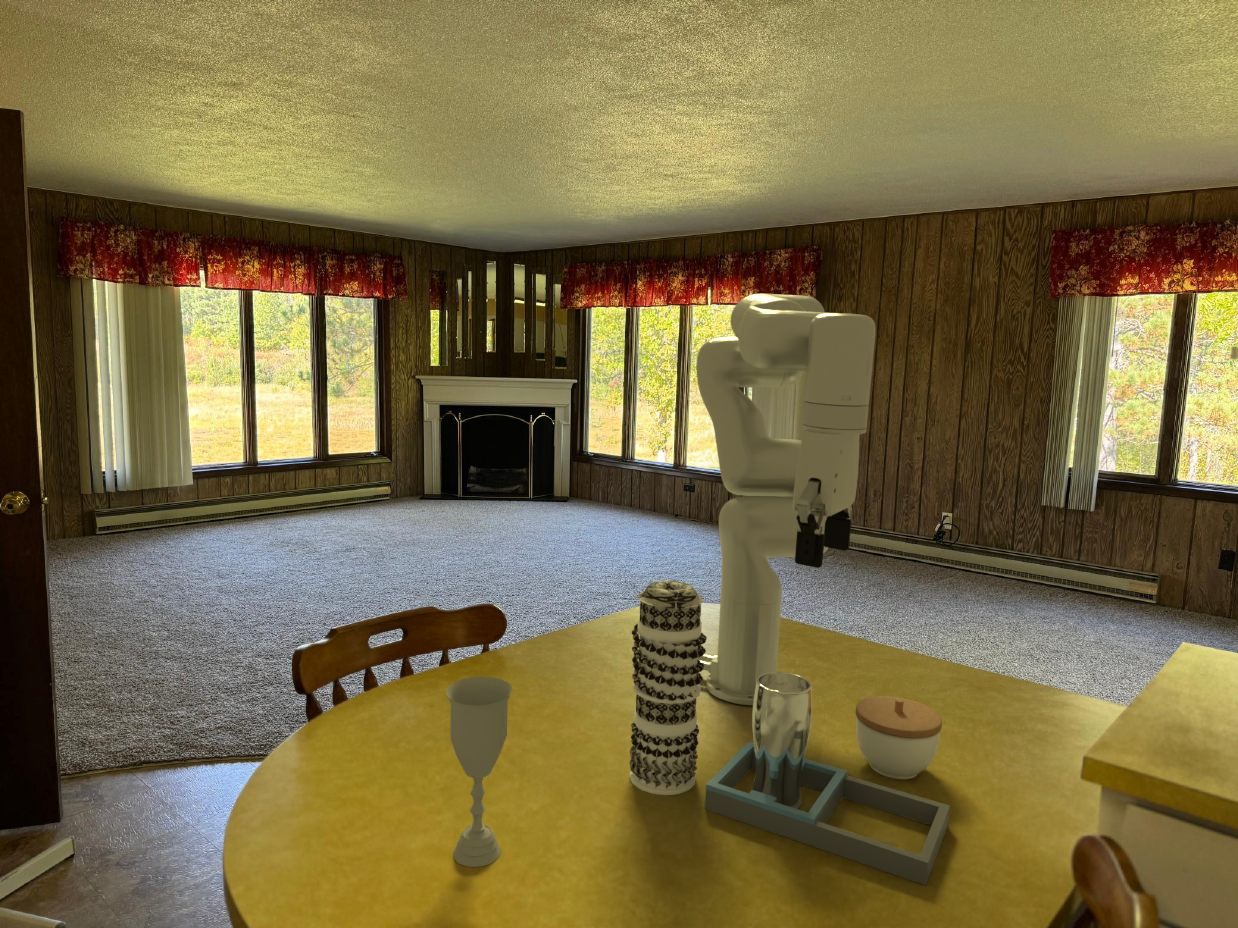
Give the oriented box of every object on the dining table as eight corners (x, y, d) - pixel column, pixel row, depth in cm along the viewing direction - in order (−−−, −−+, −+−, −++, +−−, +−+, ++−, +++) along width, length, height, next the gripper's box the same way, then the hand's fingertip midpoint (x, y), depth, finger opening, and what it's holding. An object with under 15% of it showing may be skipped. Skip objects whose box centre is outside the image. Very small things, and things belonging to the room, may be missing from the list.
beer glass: (806, 819, 96) (815, 696, 94) (746, 811, 97) (753, 689, 95) (804, 788, 102) (812, 673, 100) (748, 781, 104) (755, 667, 102)
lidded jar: (840, 771, 107) (845, 702, 106) (866, 740, 116) (871, 677, 115) (925, 798, 101) (931, 726, 100) (945, 764, 110) (952, 697, 109)
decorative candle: (667, 805, 97) (677, 602, 94) (611, 776, 103) (618, 584, 100) (713, 778, 104) (724, 587, 101) (658, 752, 110) (666, 571, 107)
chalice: (448, 832, 90) (450, 676, 88) (510, 831, 91) (514, 676, 89) (439, 874, 83) (441, 705, 81) (507, 872, 84) (510, 705, 81)
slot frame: (704, 808, 97) (706, 784, 97) (746, 763, 108) (748, 741, 108) (925, 885, 84) (928, 857, 84) (947, 825, 95) (950, 800, 95)
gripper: (828, 410, 107) (817, 537, 110) (776, 420, 93) (765, 566, 96) (886, 416, 103) (873, 547, 106) (841, 427, 89) (828, 579, 92)
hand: (822, 556), depth 101 cm, fingers open, 9 cm apart
